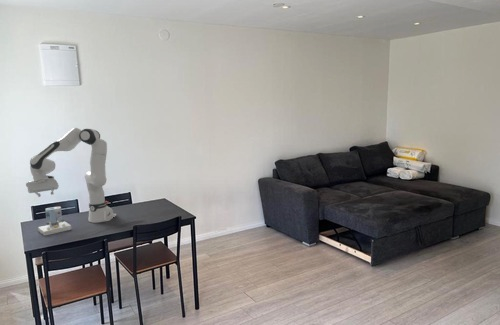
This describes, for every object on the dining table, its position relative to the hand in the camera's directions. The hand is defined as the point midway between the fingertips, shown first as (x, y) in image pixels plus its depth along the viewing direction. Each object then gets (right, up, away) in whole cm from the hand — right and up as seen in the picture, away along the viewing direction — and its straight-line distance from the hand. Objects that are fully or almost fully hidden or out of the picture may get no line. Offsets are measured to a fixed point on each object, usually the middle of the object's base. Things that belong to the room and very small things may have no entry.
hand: (46, 195), depth 268 cm
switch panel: (+10, -25, -6) cm, 28 cm away
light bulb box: (-1, -22, +13) cm, 26 cm away
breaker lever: (+10, -21, -6) cm, 24 cm away
